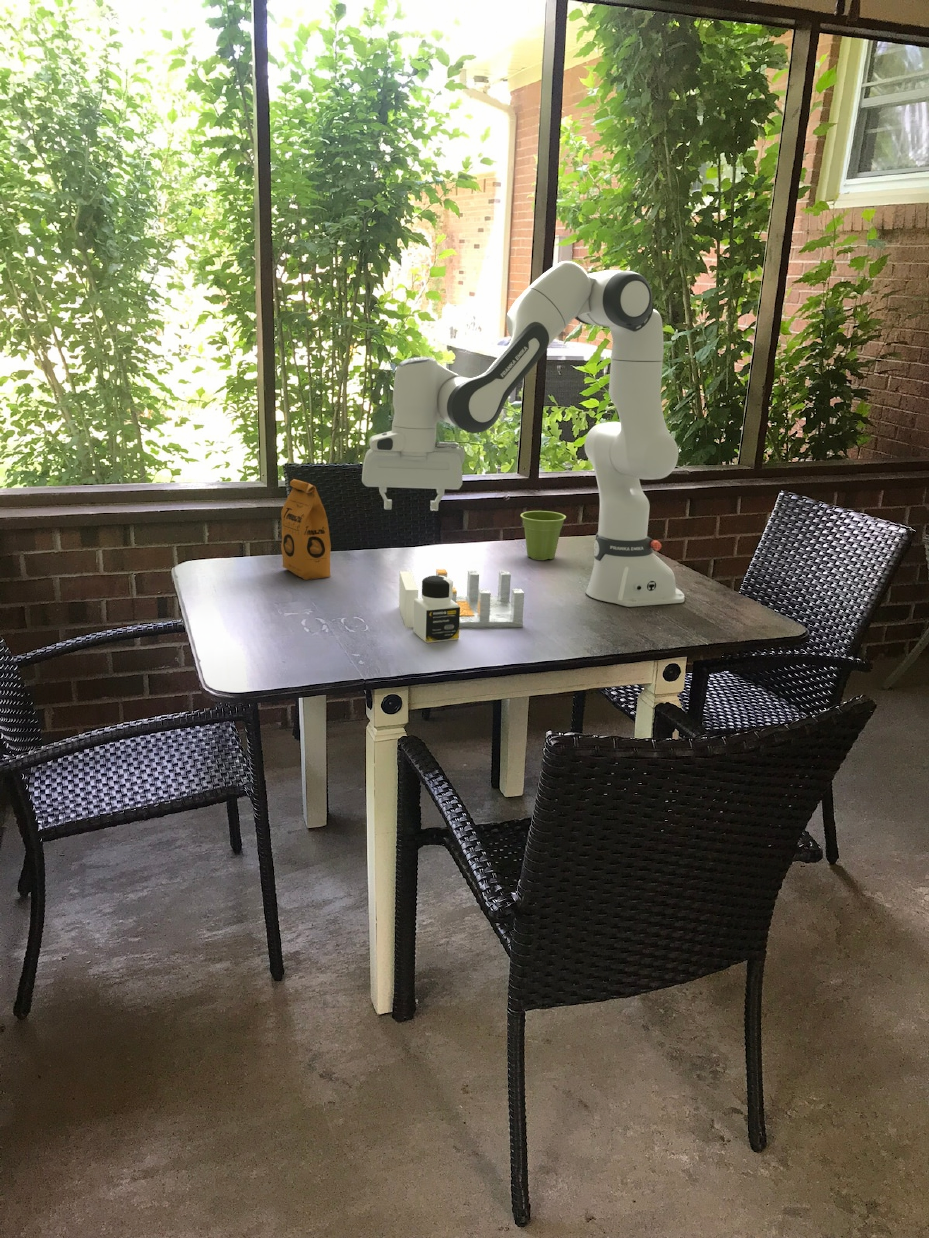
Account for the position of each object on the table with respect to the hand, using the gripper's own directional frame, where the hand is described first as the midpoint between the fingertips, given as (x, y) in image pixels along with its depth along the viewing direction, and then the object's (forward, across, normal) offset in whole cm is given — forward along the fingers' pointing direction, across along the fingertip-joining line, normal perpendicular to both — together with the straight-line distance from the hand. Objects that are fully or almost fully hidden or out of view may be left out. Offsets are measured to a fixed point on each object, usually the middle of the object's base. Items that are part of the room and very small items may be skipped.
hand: (411, 509), depth 196 cm
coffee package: (+23, +22, -33) cm, 46 cm away
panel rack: (+22, -15, -1) cm, 27 cm away
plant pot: (+22, -39, -50) cm, 67 cm away
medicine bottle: (+23, -5, +13) cm, 27 cm away
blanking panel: (+23, 0, 0) cm, 23 cm away
